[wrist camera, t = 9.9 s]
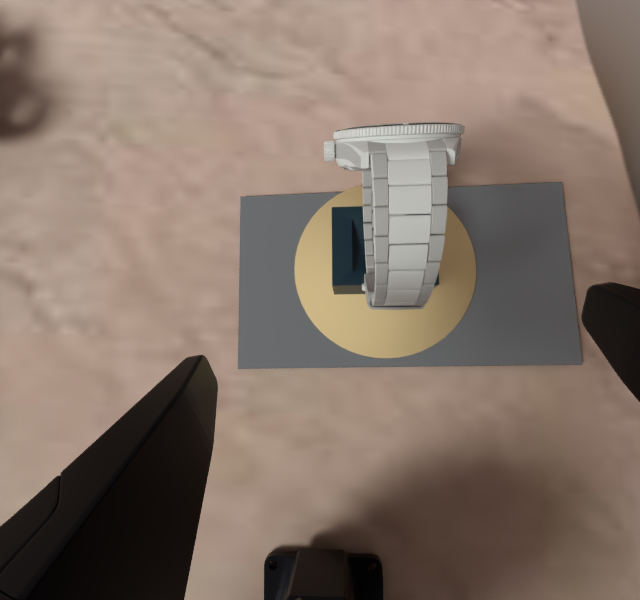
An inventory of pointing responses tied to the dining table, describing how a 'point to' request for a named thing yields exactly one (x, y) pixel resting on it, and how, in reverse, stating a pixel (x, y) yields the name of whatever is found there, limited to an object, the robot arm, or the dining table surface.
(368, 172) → the watch
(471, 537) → the dining table surface
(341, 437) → the dining table surface
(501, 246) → the mat
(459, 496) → the dining table surface
